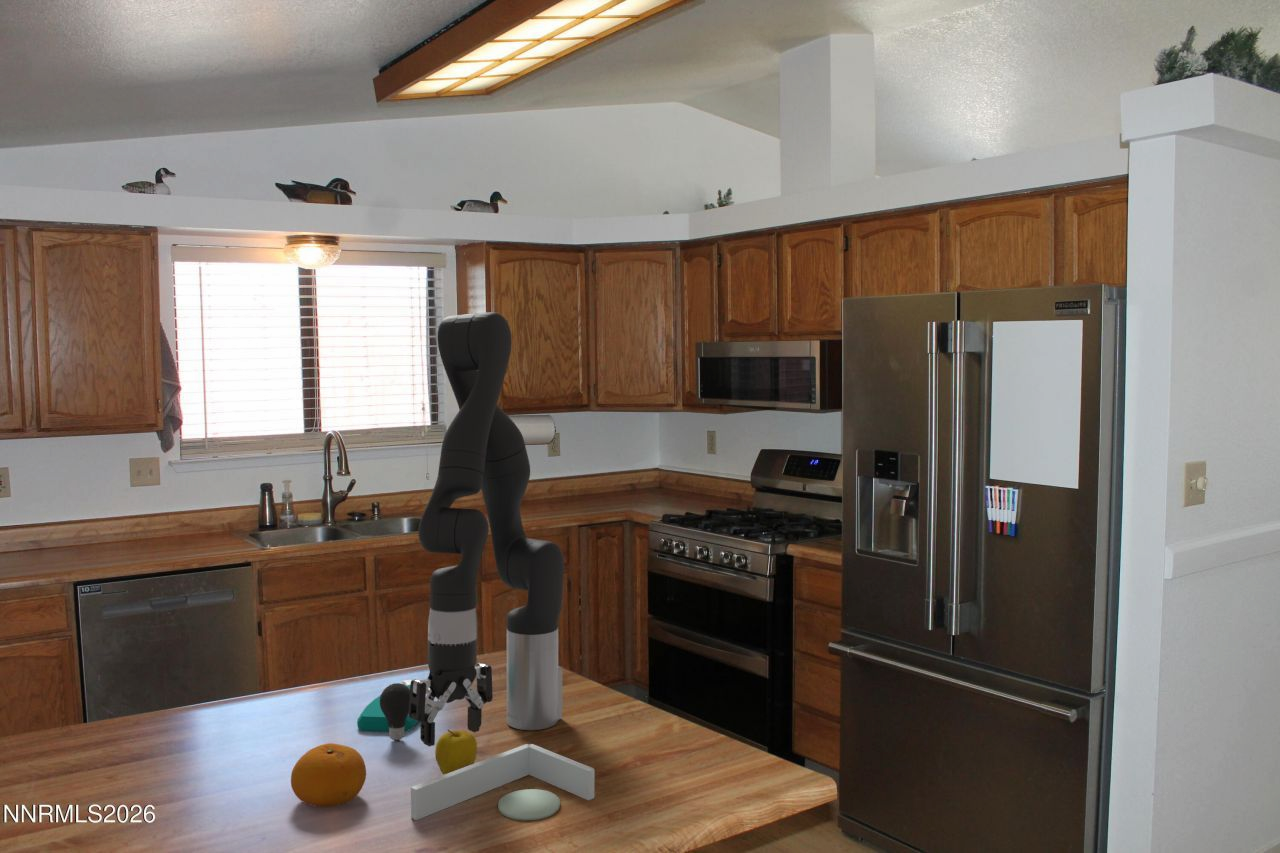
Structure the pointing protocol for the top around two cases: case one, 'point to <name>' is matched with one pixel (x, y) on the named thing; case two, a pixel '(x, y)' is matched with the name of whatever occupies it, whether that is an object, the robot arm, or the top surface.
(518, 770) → the grey corner wall
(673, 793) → the top surface
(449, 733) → the apple
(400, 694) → the light bulb
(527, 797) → the pad
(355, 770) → the fruit
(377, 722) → the spray bottle
